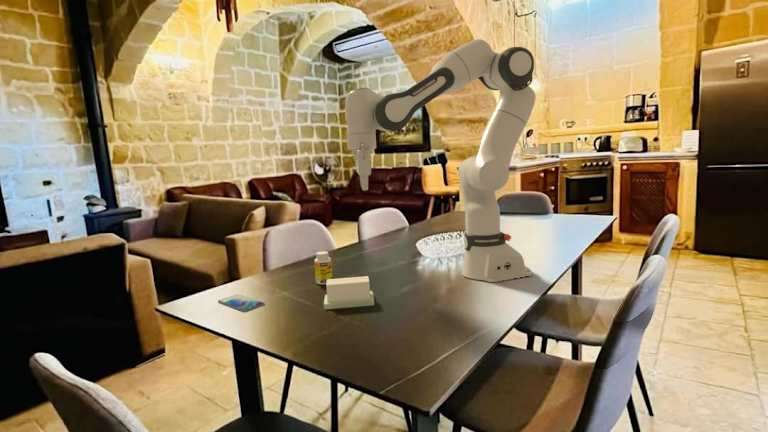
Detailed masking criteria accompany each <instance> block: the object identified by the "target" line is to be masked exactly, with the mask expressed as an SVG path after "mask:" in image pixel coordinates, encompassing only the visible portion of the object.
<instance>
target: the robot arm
mask: <svg viewBox="0 0 768 432" xmlns="http://www.w3.org/2000/svg"><path fill="white" fill-rule="evenodd" d="M534 59H535V58H534V55H533V54H532V52H531V51H530V50H529V49H527V48H526V47H523V46H513V47H512V46H511V47H509V48H507V49H504V50H502V51H500V52H495V51H494V50H493V48H492V47H491V46H490V44H489V43H488V41H486V40H484V39H481V38H478V39H473V40H471V41H469V42H467V43H464V44H462V45H460V46H458V47H456V48H455V49H453V50H451V51H450V52H448V53H447V54H446V55H444V56H443V57H442V58H441V59H439V60H438V61H437V63H435V65H433V66H432V68H431V70H430V72H429V73H428V75H427V76H425V77H424V78H423V79H421V80H420V81H418V82H417V83H415V84H414V85H412V86H411V87H409V88H408V89H406V90H404V91H402V92H395V93H389V94H386V95H381V94H379V93H377V92H375V91H373V90H372V89H371V88H369V87H361V88H357V89H353V90H351V91H349V92H348V93H347V95H346V97H345V102H344V104H345V105H344V111H345V112H344V115H345V122H346V125H347V128H346V143H347V145H346V147H347V151H349V150H350V151H351V155H352V156H353V158H354V160H353V161H354V164H355V170H356V173H357V174H358V176H359V181H360V187H361V189H362V191H368V190H369V176H370V175H371V174H372V163H371V155H373V152H374V151H373V149H374V150H375V149H377V138H376V137H377V135H376V134H377V133H376V130H379V131H380V130H381V131H384V132H395V131H396V132H397V131H400V130H403V129H404V128H405V127H406V126H407V125H408V123H409V122H410V121H411V119H412V117H413V116H414V114H415V113H416V112H417V111H418V110H420V109H421V108H422V107H424V106H425V105H427V104H428V103H430V102H432V101H433V100H434V99H436V98H437V97H439V96H442V95H450V94H452V93H455V92H457V91H460V90H462V89H464V87H465V88H466V86H467V85H470V84H471V83H473V82H474V81H475V80H477V79H478V80H479V81H480V82H481V84H482V85H484V87H486V88H487V89H489V90H491V91H499V98H498V102H497V104H496V105H495V108H494V110H493V111H492V114H491V115H490V117H489V119H488V121H487V123H486V124H485V125H486V126H485V128H484V129H483V132H482V135H481V137H482V138H481V143H480V145H479V148H478V152H477V155H474V156H469V157H467V158H466V159H465V160H463V161H462V162H461V163H460V165H459V167H458V169H457V170H458V172H457V174H458V178H459V181H460V188H461V189H460V190H461V193H462V194H461V195H462V199H463V205H464V217H465V219H464V222H465V223H464V225H465V232H464V236H463V245H464V250H465V252H464V261H463V266H462V267H463V268H462V269H461V275H462V276H463V277H465V278H468V279H472V280H476V281H477V280H479V281H485V282H489V283H495V282H503V280H504V281H509V279H510V280H515V279H514V278H517V279H521V278H520V277H523V278H526V277H525V276H529V275H532V276H533V271H532V269H530V267H528V266H526V264H525V260H524V257H523V255H522V253H520V252H519V251H517V250H516V249H515V248H513V246H511V245H509V244H508V243H507V242H509V241H511V240H512V236H511V235H510V234H509V233H504V232H502V231H501V210H500V206H499V203H498V201H497V196H496V191H499V190H501V189H503V188H504V187H505V186H506V184H507V183H508V181H509V178H510V171H509V169H510V165H511V162H512V161H511V160H512V158H513V154H514V151H515V149H516V147H517V144H518V142H519V139H520V138H521V135H522V134H523V132H524V129H525V127H526V125H527V124H528V121H529V118H530V117H531V114H532V112H533V108H534V106H535V103H536V98H537V97H536V96H537V95H536V93H535V90H533V88H532V87H530V85H531V84H532V82H533V73H534V69H535V60H534ZM529 277H530V276H529Z"/></svg>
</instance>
